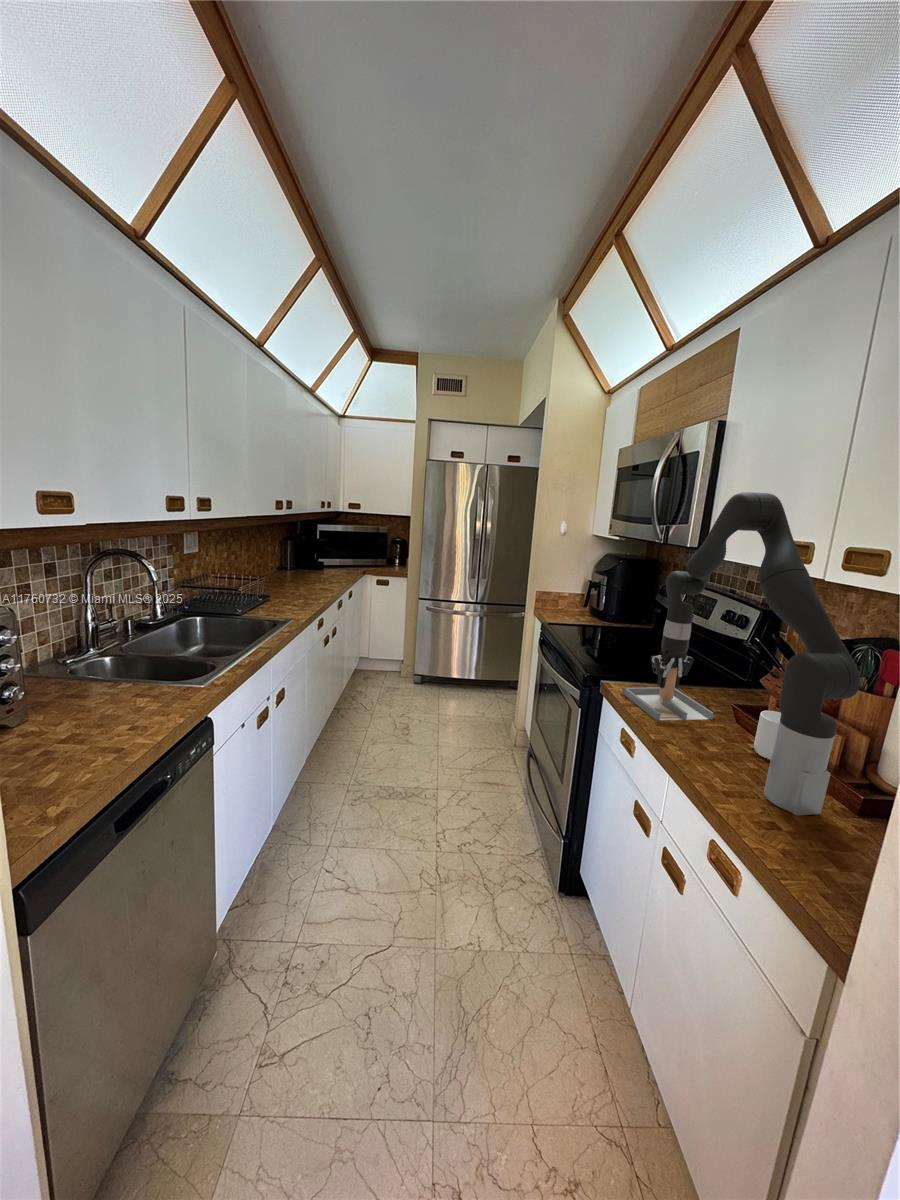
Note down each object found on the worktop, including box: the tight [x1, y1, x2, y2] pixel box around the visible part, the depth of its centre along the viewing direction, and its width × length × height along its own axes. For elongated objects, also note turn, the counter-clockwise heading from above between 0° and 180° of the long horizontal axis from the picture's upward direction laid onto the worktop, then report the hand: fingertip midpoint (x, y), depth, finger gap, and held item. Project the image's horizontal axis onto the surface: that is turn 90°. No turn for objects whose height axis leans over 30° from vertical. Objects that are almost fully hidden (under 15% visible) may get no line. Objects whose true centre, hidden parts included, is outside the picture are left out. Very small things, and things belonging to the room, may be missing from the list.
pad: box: [654, 708, 679, 718], centre depth 138 cm, size 6×6×1 cm
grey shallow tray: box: [621, 686, 714, 721], centre depth 144 cm, size 19×18×3 cm
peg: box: [659, 666, 678, 699], centre depth 148 cm, size 4×4×10 cm
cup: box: [753, 710, 781, 761], centre depth 121 cm, size 8×12×10 cm
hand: (667, 687), depth 148 cm, fingers closed on peg, 4 cm apart
